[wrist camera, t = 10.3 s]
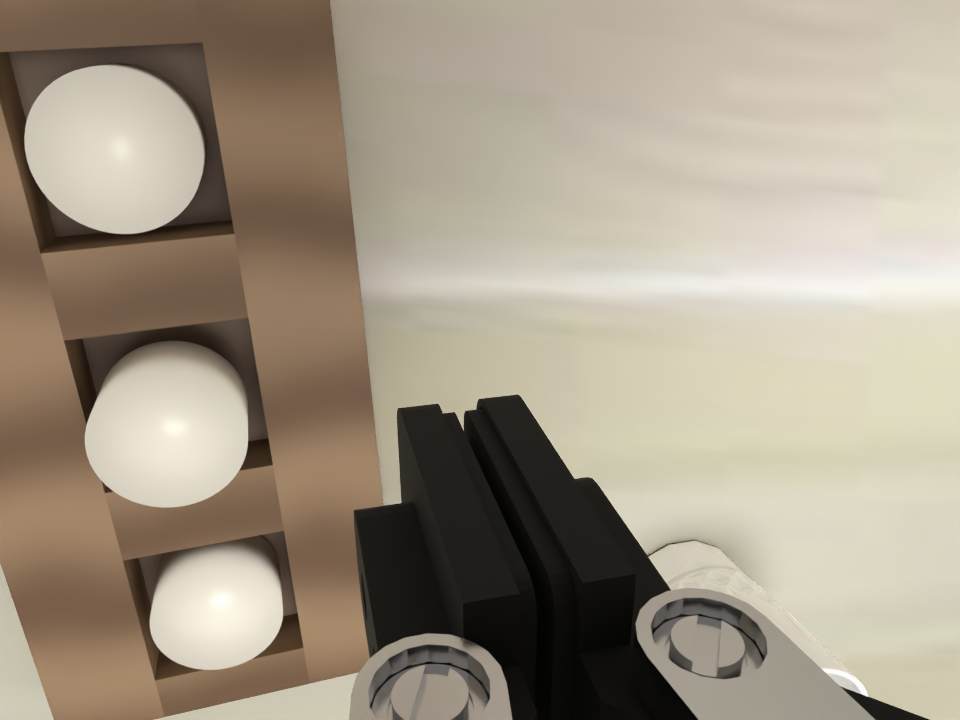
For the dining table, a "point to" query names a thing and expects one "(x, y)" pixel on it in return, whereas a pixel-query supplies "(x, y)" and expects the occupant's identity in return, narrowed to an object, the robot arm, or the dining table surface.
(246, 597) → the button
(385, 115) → the dining table surface
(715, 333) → the dining table surface
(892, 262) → the dining table surface
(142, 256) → the button board
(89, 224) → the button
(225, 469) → the button mid
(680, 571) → the white cup
